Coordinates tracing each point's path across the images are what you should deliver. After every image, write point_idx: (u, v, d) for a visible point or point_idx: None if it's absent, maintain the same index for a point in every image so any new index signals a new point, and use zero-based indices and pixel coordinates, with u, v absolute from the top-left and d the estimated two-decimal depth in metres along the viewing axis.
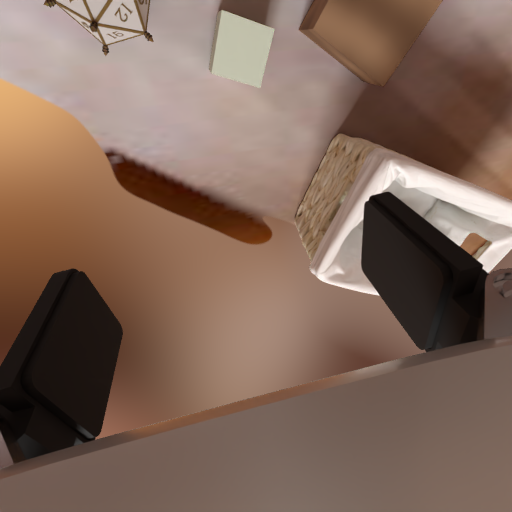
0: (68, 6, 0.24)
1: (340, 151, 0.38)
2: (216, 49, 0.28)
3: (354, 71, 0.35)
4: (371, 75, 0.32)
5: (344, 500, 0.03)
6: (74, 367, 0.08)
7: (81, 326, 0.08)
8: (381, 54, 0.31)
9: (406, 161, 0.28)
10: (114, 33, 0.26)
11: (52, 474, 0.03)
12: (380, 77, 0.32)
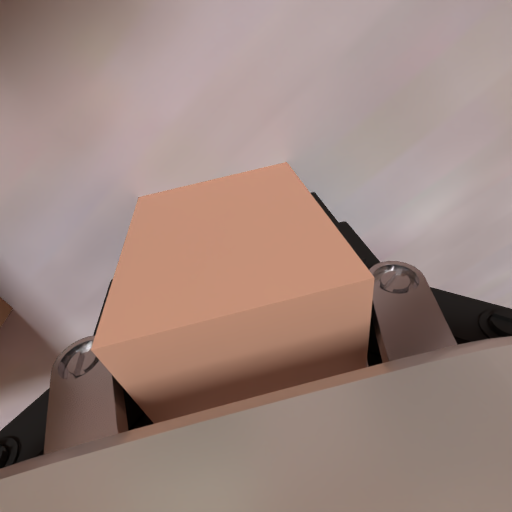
0: None
1: None
2: None
3: None
4: None
5: (344, 500, 0.03)
6: None
7: None
8: None
9: None
10: None
11: (52, 474, 0.03)
12: None
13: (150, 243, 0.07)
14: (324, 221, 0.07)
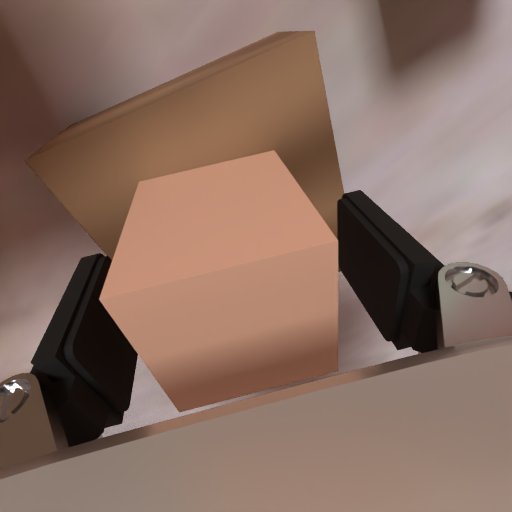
0: None
1: None
2: None
3: (111, 110, 0.12)
4: (81, 139, 0.10)
5: (344, 500, 0.03)
6: (105, 344, 0.08)
7: None
8: (127, 185, 0.11)
9: None
10: None
11: (52, 474, 0.03)
12: (60, 163, 0.10)
13: (149, 219, 0.08)
14: (302, 198, 0.08)
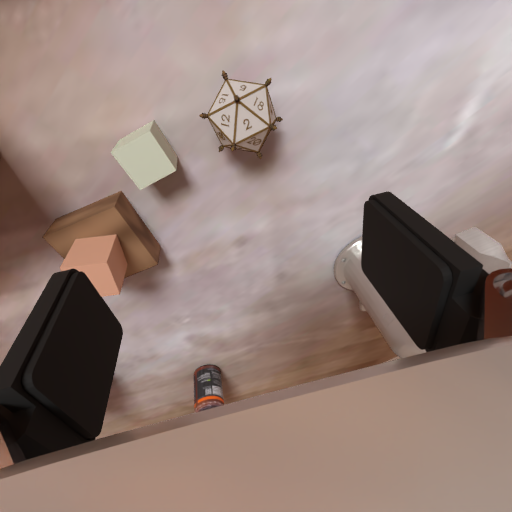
0: (256, 92, 0.31)
1: None
2: (160, 148, 0.34)
3: (68, 216, 0.40)
4: (57, 231, 0.37)
5: (344, 500, 0.03)
6: (74, 367, 0.08)
7: (81, 326, 0.08)
8: (71, 242, 0.39)
9: None
10: (224, 98, 0.31)
11: (52, 474, 0.03)
12: (52, 237, 0.38)
13: (74, 252, 0.36)
14: (109, 251, 0.36)
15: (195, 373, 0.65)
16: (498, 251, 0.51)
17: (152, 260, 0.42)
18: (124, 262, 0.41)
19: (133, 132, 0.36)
